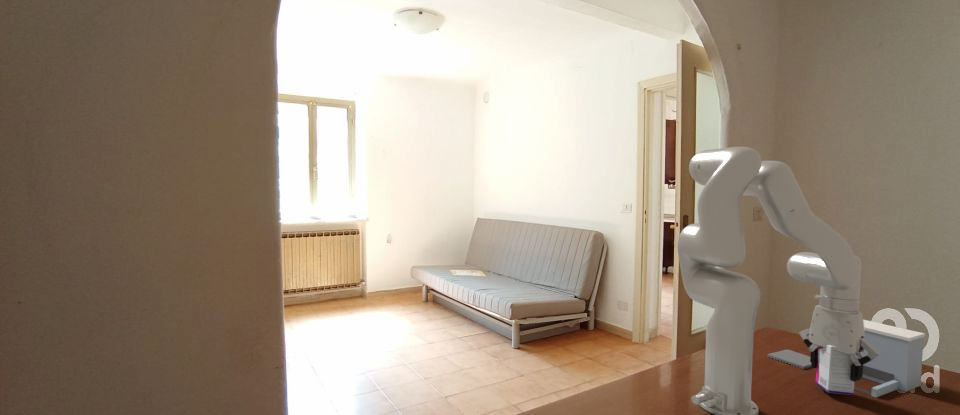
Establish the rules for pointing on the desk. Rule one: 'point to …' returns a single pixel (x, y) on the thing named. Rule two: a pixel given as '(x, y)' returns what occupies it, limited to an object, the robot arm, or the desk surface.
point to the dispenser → (893, 358)
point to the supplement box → (834, 371)
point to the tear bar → (862, 391)
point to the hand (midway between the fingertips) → (835, 373)
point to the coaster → (792, 358)
